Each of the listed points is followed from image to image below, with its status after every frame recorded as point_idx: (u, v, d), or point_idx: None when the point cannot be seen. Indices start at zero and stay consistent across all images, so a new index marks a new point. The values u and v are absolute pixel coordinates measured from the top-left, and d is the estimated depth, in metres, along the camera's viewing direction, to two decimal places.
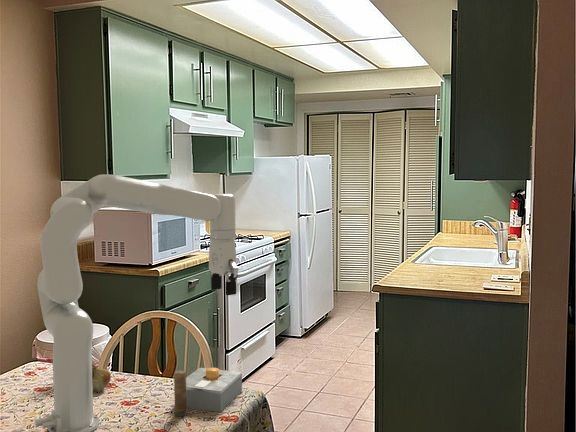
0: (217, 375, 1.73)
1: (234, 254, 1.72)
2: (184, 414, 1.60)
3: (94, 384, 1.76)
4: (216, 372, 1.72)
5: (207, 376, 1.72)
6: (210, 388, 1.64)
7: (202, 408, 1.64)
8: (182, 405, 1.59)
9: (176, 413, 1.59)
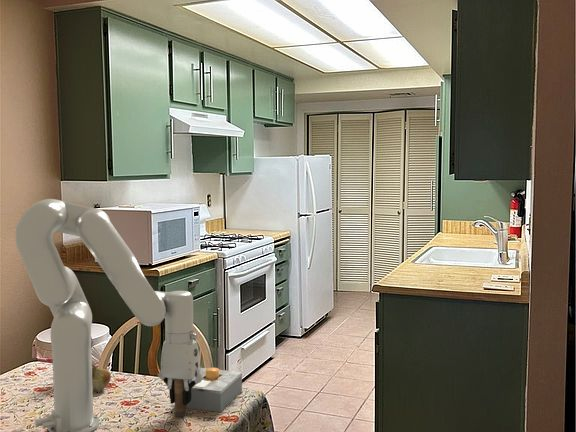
0: (217, 375, 1.73)
1: None
2: (184, 414, 1.60)
3: (94, 384, 1.76)
4: (216, 372, 1.72)
5: (207, 376, 1.72)
6: (210, 388, 1.64)
7: (202, 408, 1.64)
8: (182, 405, 1.59)
9: (176, 413, 1.59)
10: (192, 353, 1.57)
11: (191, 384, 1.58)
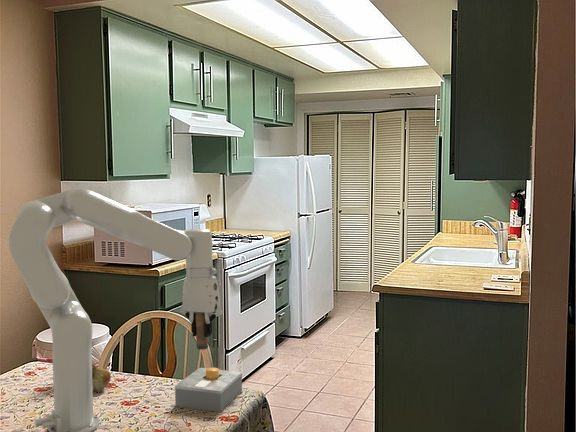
0: (217, 375, 1.73)
1: None
2: (206, 346, 1.67)
3: (94, 384, 1.76)
4: (216, 372, 1.72)
5: (207, 376, 1.72)
6: (210, 388, 1.64)
7: (202, 408, 1.64)
8: (204, 337, 1.66)
9: (198, 345, 1.67)
10: (212, 287, 1.64)
11: (212, 317, 1.65)
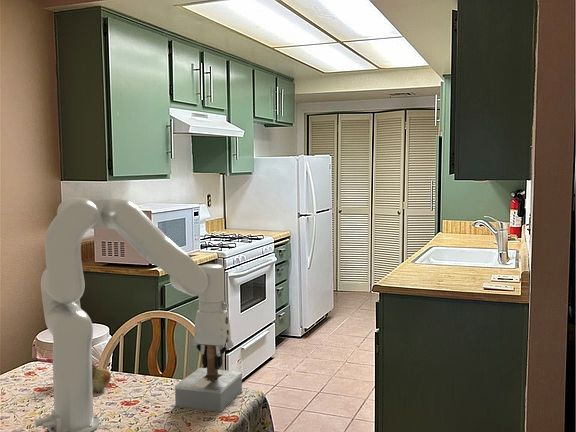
0: None
1: None
2: (216, 378, 1.73)
3: (94, 384, 1.76)
4: None
5: None
6: (210, 388, 1.64)
7: (202, 408, 1.64)
8: (214, 369, 1.72)
9: (208, 377, 1.73)
10: (224, 321, 1.70)
11: (222, 350, 1.71)
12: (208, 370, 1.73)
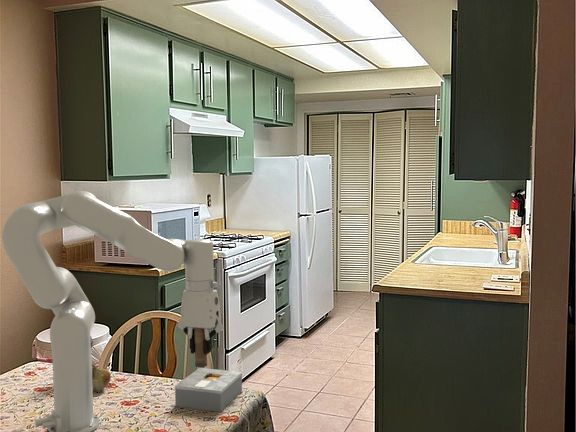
0: None
1: None
2: (205, 364, 1.57)
3: (94, 384, 1.76)
4: None
5: None
6: (210, 388, 1.64)
7: (202, 408, 1.64)
8: (203, 354, 1.57)
9: (197, 363, 1.57)
10: (213, 301, 1.54)
11: (212, 333, 1.56)
12: (196, 355, 1.57)
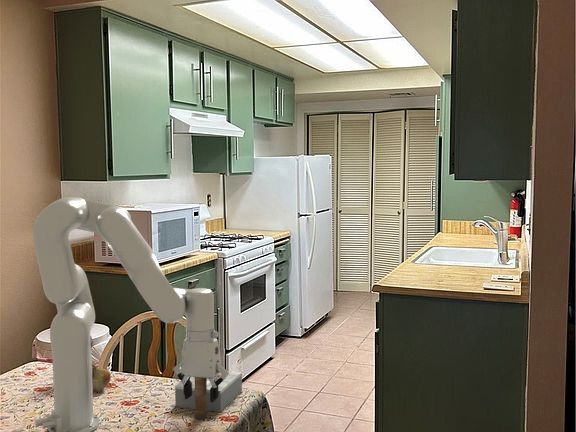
0: None
1: None
2: (204, 416, 1.58)
3: (94, 384, 1.76)
4: None
5: None
6: None
7: None
8: (203, 407, 1.58)
9: (196, 415, 1.58)
10: (213, 351, 1.55)
11: (218, 381, 1.56)
12: (196, 408, 1.58)
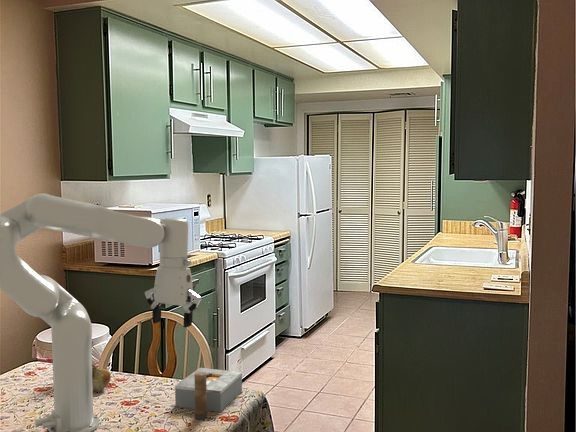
0: None
1: None
2: (204, 416, 1.58)
3: (94, 384, 1.76)
4: None
5: None
6: (210, 388, 1.64)
7: None
8: (203, 407, 1.58)
9: (196, 415, 1.58)
10: (185, 278, 1.58)
11: (192, 306, 1.58)
12: (196, 408, 1.58)
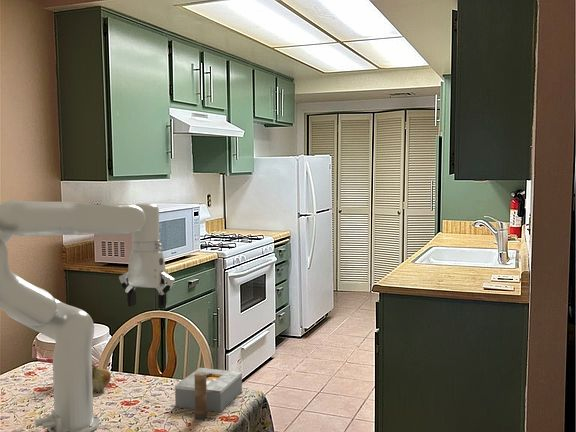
0: None
1: None
2: (204, 416, 1.58)
3: (94, 384, 1.76)
4: None
5: None
6: (210, 388, 1.64)
7: None
8: (203, 407, 1.58)
9: (196, 415, 1.58)
10: (157, 261, 1.63)
11: (166, 288, 1.64)
12: (196, 408, 1.58)
